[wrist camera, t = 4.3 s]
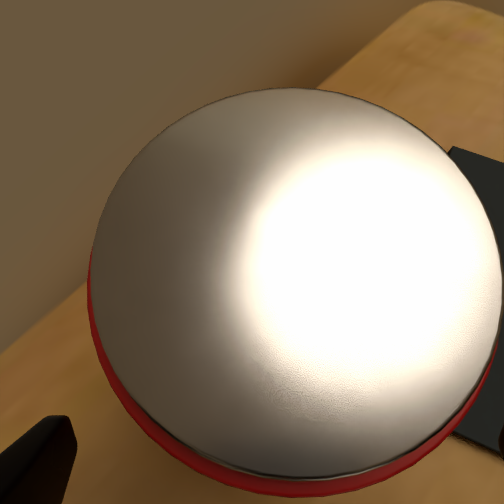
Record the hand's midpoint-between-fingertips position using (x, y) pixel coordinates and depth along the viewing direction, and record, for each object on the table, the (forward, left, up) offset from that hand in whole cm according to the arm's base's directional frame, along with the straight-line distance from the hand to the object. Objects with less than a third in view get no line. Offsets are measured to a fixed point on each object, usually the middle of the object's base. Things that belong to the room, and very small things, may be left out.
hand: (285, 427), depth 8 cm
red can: (+1, -2, -10) cm, 10 cm away
